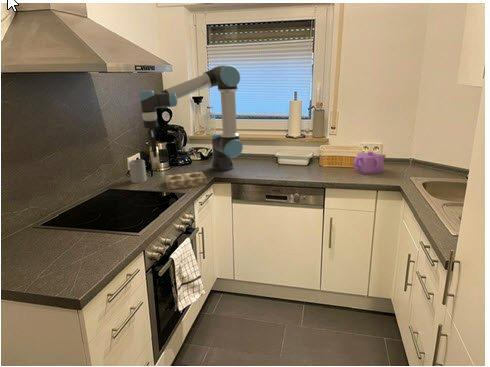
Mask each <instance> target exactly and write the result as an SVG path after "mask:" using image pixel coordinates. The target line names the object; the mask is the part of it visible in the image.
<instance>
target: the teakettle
mask: <svg viewBox="0 0 490 367" xmlns="http://www.w3.org/2000/svg"><path fill="white" fill-rule="evenodd" d="M386 157H387V156H386V154H379V153H375V152H373V151H367V152H365V153H357V154H356V157H354V160H353V167H354V170H355V172H358V173H359V174H362V175H365V176H366V175H368V176H369V175H376V174H381V173H383V172H384V169H385V162H384V160H385V158H386Z"/></svg>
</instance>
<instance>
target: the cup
mask: <svg viewBox="0 0 490 367" xmlns="http://www.w3.org/2000/svg"><path fill="white" fill-rule="evenodd" d="M128 168H129V174H130V181H131V183H133V184H136V183H137V184H138V183H145V182H147V181H148V179H147V178H148V177H147V170H146V161H145V160H144V159H132V160H129V161H128Z"/></svg>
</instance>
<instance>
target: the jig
mask: <svg viewBox="0 0 490 367" xmlns="http://www.w3.org/2000/svg"><path fill="white" fill-rule="evenodd" d="M164 178H165V180H164V181H165V184H166V187H167V190H173V189H181V188H189V187H188V186H190V187H197V186H196V185H198V186H206V185H208V180H207V176H206V175H205V174H204V173H203V171H194V172H187V173H186V172H185V173H179V174H178V173H177V174H168V175H167V174H166V175H165V176H164Z"/></svg>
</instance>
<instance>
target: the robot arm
mask: <svg viewBox="0 0 490 367" xmlns="http://www.w3.org/2000/svg"><path fill="white" fill-rule="evenodd" d="M240 81H241V73H240V71H239V69H238V68H237V67H236V66H234V65H230V64H226V65H218V66H216V67H215V66H214V67H213V68H211V69H209V70H207V71H204V72H203V73H202V75H199V76H196V77H194V78H191V79H189V80H186V81H184V82H180V83H178V84H176V85H173V86H170V87H168V88H165V89H163V90H161V91H156V92H155V91H154V90H141V91H140V92H139V101H140V107H141V113H142V114H140V116H141V117H142V120H143V122H142V123H143V128H145V129H149V130H147V134H148V138H149V141H150V142H149V143H150V147H151V146H152V151H151V152H152V156H153V163H158V156H157V148H156V146H157V143H156V142H157V140H156V139H157V135H156V133H157V132H156V130H155V128H157V127H159V123H158V114H157V109H160V108H173V107H177V105H178V100H179V99H181V98H183V97H186V96H189V95H191V94H193V93H196V92H198V91H202V90H204V89H206V88H208V89H210V88H213V87H217V90H218V91H219V93H220V104H221V106H220V107H221V123H222V126H221V127H222V133H216V134H215V133H214V134H212V136H211V145H212V146H211V147H212V160H211V164H210V169H211V170H213V171H219V172H220V171H221V172H222V171H230V170H233V169H234V166H235V164H234V162H233V158H237V157H239V156H240V155H241V154H242V152H243V149H244V145H243V143H242V141H241V140H240V134H239V133H238V132H237V130H238V129H237V103H236V91H238V84H239V83H240Z"/></svg>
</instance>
